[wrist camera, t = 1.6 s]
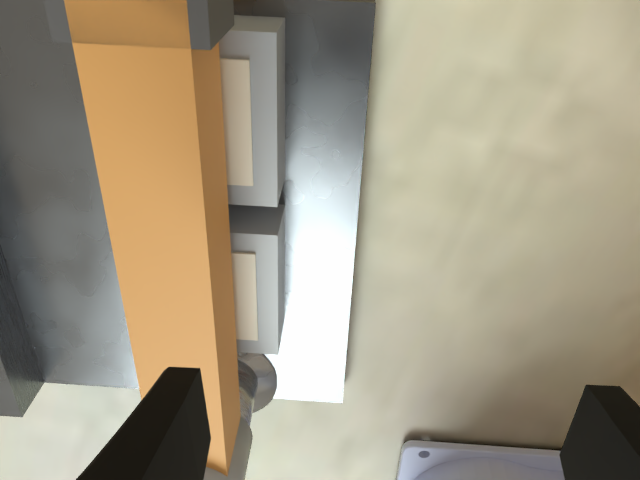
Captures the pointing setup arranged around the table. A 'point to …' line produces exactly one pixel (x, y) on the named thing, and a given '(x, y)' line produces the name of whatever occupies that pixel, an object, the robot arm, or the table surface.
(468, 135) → the table surface
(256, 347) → the block
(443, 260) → the table surface
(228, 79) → the module
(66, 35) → the swing bar
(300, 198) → the tray
